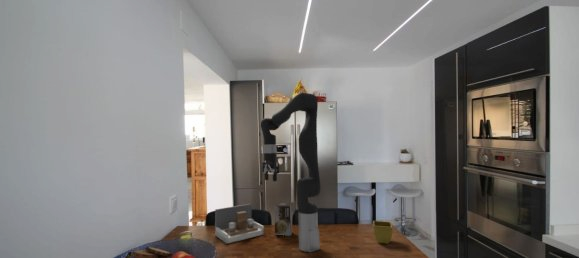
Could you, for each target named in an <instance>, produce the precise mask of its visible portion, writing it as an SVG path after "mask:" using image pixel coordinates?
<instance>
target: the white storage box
mask: <svg viewBox="0 0 579 258" xmlns="http://www.w3.org/2000/svg"><path fill="white" fill-rule="evenodd" d="M214 211H215V213H214V214H215V215H214V220H215V221H214V231H215V232H214V236H215V237H217V238H218V239H219V240H221V241H222V242H224V243H225V244H231V243H234V242H239V241H243V240H247V239H250V238H254V237H258V236H264V234H265V227H264V225H262V224H261V223H258V222H257V221H255V220H253V226H255V227H257V228H258V230H255V231H251V232H247V233H243V234H238V235H234V236H230V235H228V234H227V233H226V232H225V230H227V229H229V223H231V222H234V223H235V228H236V212H241V211H246V212H247V220H248V219H252V203H248V204H247V203H246V204H241V205H235V206H229V207H223V208H216V209H214Z"/></svg>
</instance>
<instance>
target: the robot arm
mask: <svg viewBox="0 0 579 258" xmlns="http://www.w3.org/2000/svg"><path fill="white" fill-rule="evenodd" d="M318 104H319V103H318V98H317V96H316V95H315V94H312V93H309V92H308V93H307V92H299V93H297V94H295V95H294V96H293V97H292V99H290V101H288V103H287V104H286V105H284V107H282V108H281V109H280V110H278V111H277V112H275V113H274V114H273V115H272V116H271V118H270V117H265V118H262V120H261V121H260V128H261V129H260V130H261V132H262V136H263V162H262V168H261V169H262V170H261V172H262V173H263V174H264V181H269V173H270V172H271V173H272V181H273V182H277V181H278V180H277V179H278V174H280V163H279V162H277V159H278V154H277V153H278V151H277V136H276V134H273V133H271V131H276V130H278V129H279V128H280V127H281V125H283V124H284V123H286V122H287V121H289V120H290V118H291V116H292V114H294V113H296V112H299V111H300V112H305V121H304V124H303V127H302V129H301V131H300V133H299V136H298V151H299V154H300V156H301V158H302V160H303V161H304V163H305V165H306V167H307V170H308V177H305V178H304V177H303V178H299V179H298V180H297V182H296V188H295V189H296V201H297V202H296V204H297V205H296V206H297V209H298V216H297V217H298V249H299V250H300V251H301V252H305V253H307V252H308V253H313V252H316V251H318V250H321V249H320V229H319V228H318V225H319V224H318V223H319V222H318V205H316V204H314V203H310V202H309V198H314V197H318V196H319V195H320V193H321V179H320V178H321V177H320V171H319V160H318V159H319V157H318V132H317V131H318V129H317V128H318V127H317V126H318V125H317V123H318V122H317V120H318V106H319V105H318Z"/></svg>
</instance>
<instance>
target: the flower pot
mask: <svg viewBox="0 0 579 258" xmlns="http://www.w3.org/2000/svg"><path fill="white" fill-rule="evenodd" d="M373 231H374V233H373V234H374V237H375V241H376V243H378V244H389V243H390V242H391V241H392V236H393V225H392V222H391V221H381V220H373Z"/></svg>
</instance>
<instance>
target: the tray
mask: <svg viewBox="0 0 579 258" xmlns="http://www.w3.org/2000/svg"><path fill="white" fill-rule="evenodd" d="M253 221H254V219H253V218H251V219H248V220H247V212H246V211H241V212H236V228H235V223H234V222H231V223H229V229H227V230H225V232H226V233H227V234H228V235H230V236H234V235H238V234H243V233H247V232H251V231H255V230H258V228H257V227H255V226H253Z"/></svg>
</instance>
